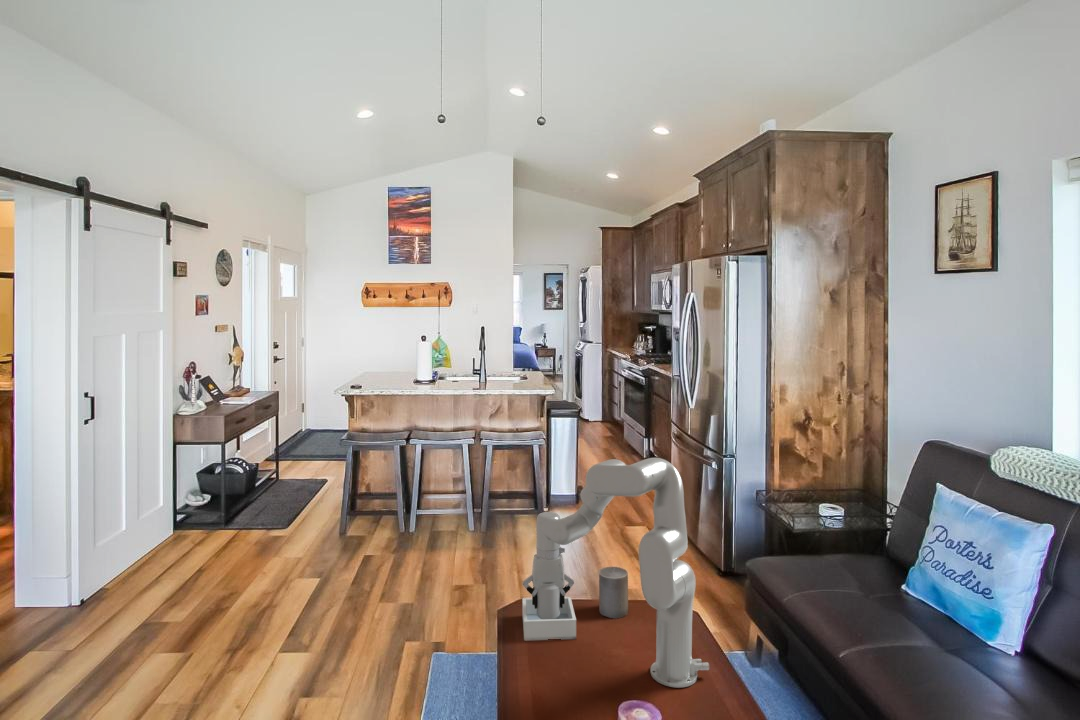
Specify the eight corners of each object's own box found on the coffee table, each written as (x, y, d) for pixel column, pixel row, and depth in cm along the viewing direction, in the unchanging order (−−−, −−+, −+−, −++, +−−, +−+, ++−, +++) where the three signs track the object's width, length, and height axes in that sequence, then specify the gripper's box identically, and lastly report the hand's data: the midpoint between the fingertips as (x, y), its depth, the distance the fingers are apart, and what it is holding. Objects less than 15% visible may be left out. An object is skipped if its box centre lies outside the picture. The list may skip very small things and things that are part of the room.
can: (533, 612, 199) (533, 576, 199) (555, 609, 201) (555, 573, 201) (540, 623, 192) (540, 585, 191) (563, 619, 194) (563, 582, 194)
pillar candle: (625, 604, 212) (624, 562, 212) (630, 618, 203) (630, 573, 202) (596, 606, 212) (596, 563, 211) (601, 619, 202) (601, 574, 201)
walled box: (570, 614, 205) (570, 596, 205) (576, 639, 190) (576, 620, 189) (522, 615, 205) (522, 598, 204) (524, 640, 189) (524, 621, 188)
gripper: (574, 547, 200) (574, 600, 201) (520, 548, 199) (520, 601, 200) (577, 556, 192) (576, 611, 193) (521, 557, 191) (521, 612, 192)
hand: (548, 606), depth 197 cm, fingers closed on can, 7 cm apart
